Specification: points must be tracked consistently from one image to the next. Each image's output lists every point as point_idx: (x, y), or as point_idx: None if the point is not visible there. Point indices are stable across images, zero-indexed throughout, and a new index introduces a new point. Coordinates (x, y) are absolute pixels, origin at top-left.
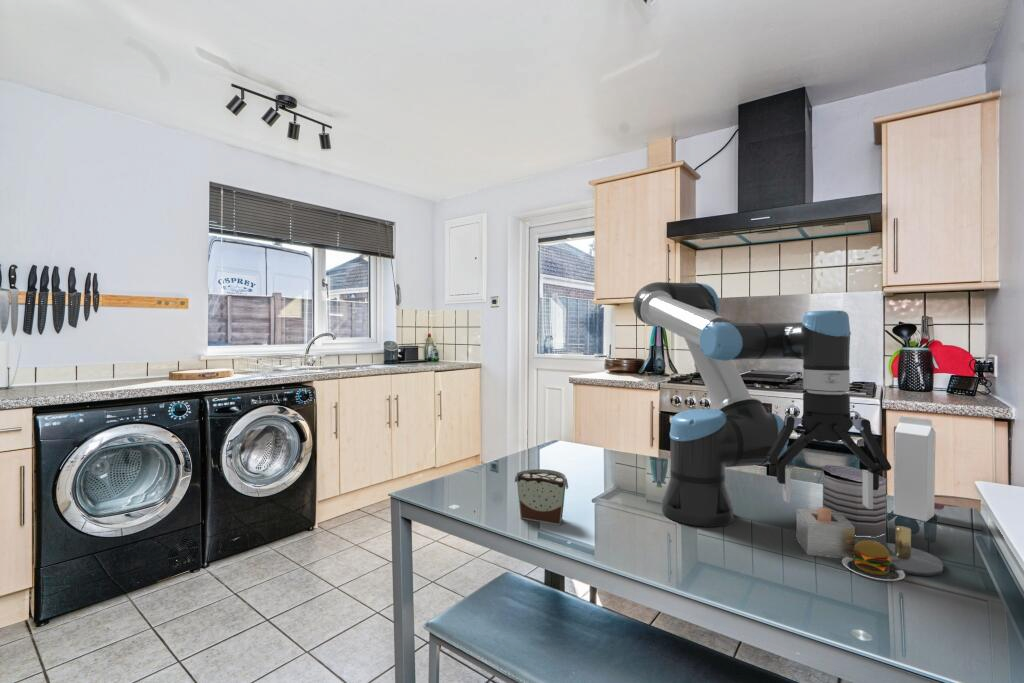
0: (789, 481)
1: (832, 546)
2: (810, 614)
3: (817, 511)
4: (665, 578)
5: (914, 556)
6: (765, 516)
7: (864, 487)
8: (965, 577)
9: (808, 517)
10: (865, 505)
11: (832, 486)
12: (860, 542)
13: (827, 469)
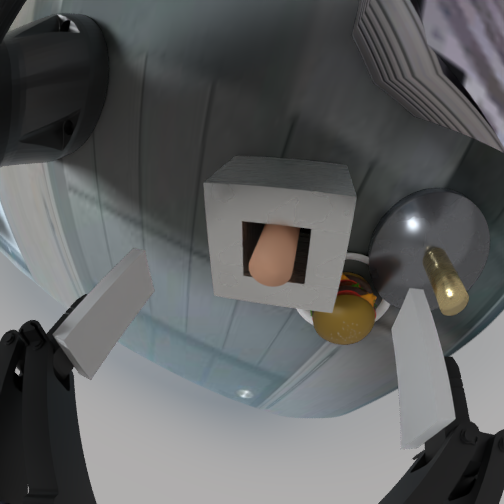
0: (114, 340)
1: None
2: (208, 374)
3: (272, 197)
4: None
5: (453, 261)
6: (187, 10)
7: (415, 361)
8: (476, 297)
9: (224, 260)
10: (399, 314)
11: (407, 41)
12: (324, 324)
13: None
